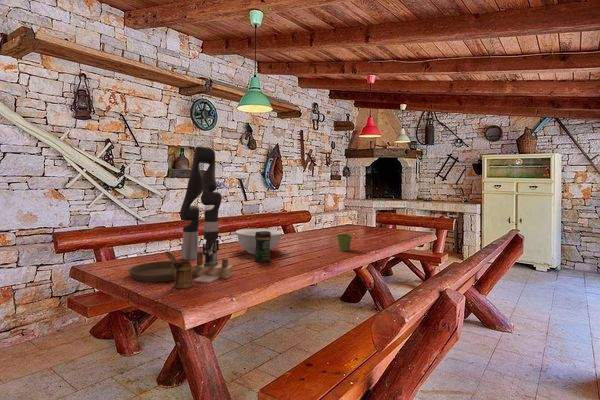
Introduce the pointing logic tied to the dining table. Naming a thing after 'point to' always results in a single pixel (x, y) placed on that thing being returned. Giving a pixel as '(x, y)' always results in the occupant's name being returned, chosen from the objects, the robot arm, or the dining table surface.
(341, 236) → the plant pot
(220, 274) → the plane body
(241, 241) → the bowl
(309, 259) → the dining table surface
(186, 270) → the turkish coffee pot
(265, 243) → the coffee jar
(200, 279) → the stone tile
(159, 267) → the plant saucer
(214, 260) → the lever cap
